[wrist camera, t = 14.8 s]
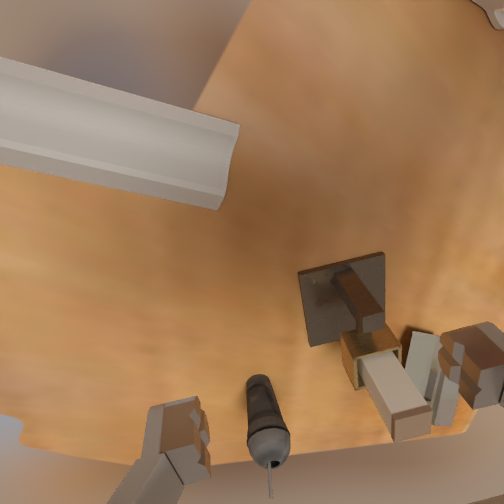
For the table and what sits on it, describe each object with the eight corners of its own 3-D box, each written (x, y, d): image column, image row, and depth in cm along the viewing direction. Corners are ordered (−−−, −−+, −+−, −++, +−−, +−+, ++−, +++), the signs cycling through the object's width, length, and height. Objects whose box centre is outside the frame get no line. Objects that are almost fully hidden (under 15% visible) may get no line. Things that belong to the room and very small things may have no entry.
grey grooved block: (369, 327, 69) (364, 417, 65) (412, 329, 60) (410, 433, 56) (427, 338, 77) (426, 418, 73) (472, 341, 69) (474, 432, 65)
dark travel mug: (274, 394, 68) (300, 507, 51) (238, 396, 67) (252, 513, 49) (278, 368, 64) (308, 480, 47) (240, 370, 63) (256, 486, 46)
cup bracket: (382, 251, 55) (429, 300, 43) (382, 324, 63) (422, 381, 51) (297, 272, 54) (323, 326, 43) (309, 343, 62) (333, 404, 51)
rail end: (380, 333, 51) (432, 410, 40) (381, 355, 53) (430, 433, 42) (351, 341, 51) (395, 420, 39) (352, 362, 53) (394, 442, 42)
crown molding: (238, 124, 43) (242, 129, 40) (216, 210, 48) (218, 221, 45) (-53, 42, 35) (-78, 40, 32) (-41, 155, 40) (-61, 164, 37)
